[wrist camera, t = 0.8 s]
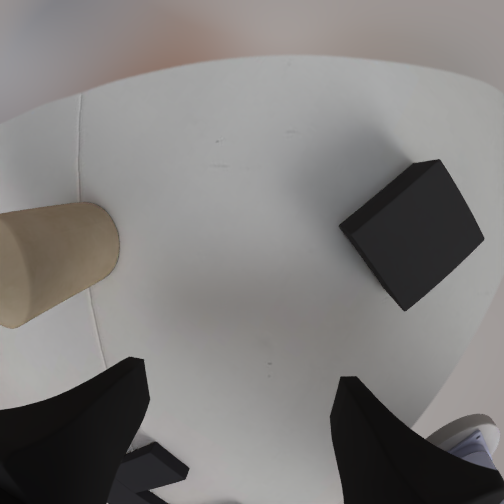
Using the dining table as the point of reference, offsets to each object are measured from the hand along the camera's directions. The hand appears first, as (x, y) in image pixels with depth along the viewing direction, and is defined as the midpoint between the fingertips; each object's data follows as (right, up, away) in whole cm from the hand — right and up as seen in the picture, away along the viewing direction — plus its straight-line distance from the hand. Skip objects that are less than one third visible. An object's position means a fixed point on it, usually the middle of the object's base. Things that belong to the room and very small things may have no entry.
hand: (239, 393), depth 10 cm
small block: (+9, +7, +6) cm, 13 cm away
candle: (-11, +6, +9) cm, 15 cm away
